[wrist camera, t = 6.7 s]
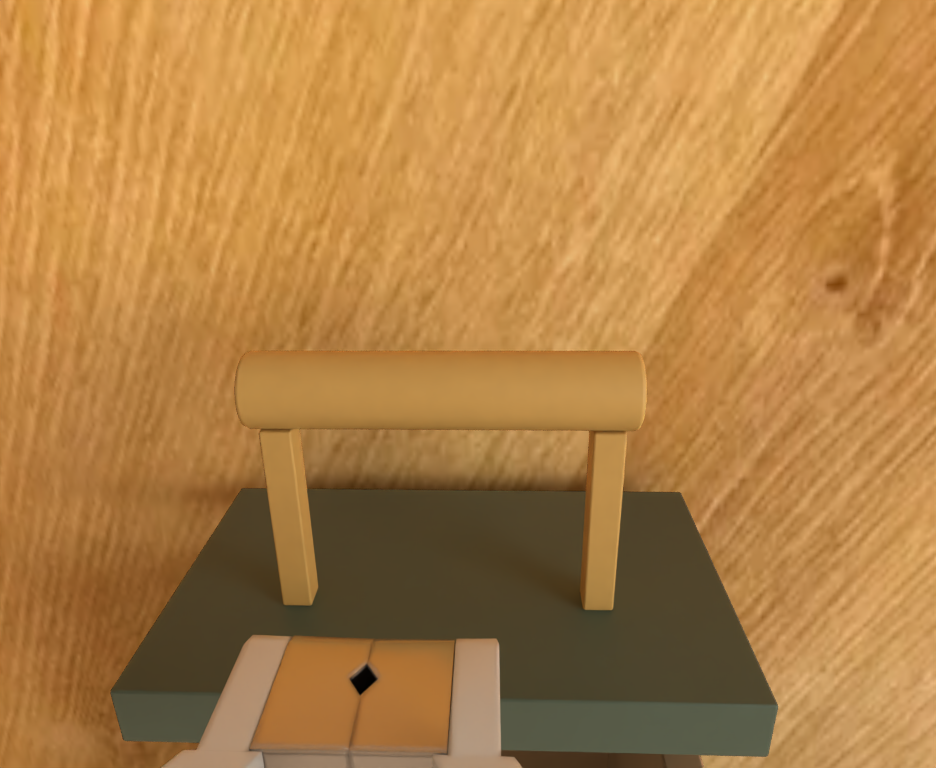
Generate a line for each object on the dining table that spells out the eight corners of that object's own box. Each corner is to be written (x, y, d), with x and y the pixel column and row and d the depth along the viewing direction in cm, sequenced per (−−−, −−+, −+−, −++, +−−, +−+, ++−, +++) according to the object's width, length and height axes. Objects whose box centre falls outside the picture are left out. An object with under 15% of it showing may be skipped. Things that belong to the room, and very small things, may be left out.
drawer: (210, 290, 16) (31, 413, 10) (705, 289, 16) (840, 417, 10) (296, 835, 24) (223, 1105, 17) (638, 845, 23) (691, 1126, 17)
